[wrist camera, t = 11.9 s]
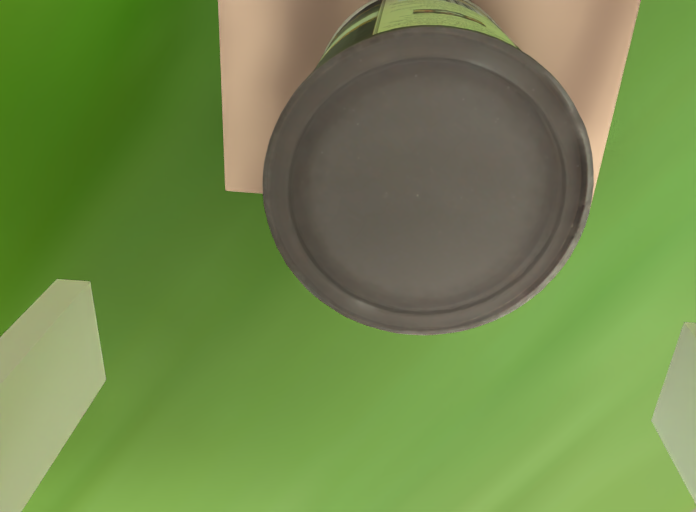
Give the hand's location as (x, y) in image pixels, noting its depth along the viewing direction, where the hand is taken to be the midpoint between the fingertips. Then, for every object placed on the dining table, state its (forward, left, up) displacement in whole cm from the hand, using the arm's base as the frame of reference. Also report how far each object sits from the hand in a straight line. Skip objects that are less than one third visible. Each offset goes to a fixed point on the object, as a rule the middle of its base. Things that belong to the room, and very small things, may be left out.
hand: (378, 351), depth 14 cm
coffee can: (+1, +1, -21) cm, 21 cm away
